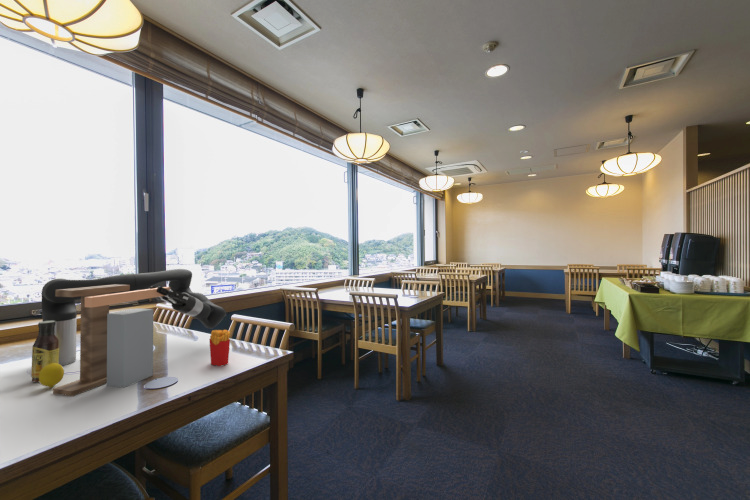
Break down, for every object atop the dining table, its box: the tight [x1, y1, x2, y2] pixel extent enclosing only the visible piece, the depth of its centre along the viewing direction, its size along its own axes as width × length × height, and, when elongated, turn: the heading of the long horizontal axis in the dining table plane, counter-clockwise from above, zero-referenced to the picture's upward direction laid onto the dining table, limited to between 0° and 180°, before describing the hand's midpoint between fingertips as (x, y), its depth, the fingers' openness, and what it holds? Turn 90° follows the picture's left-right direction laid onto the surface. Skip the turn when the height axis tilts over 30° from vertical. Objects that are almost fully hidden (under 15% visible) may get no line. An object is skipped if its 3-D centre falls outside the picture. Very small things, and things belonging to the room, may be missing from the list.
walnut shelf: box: [52, 284, 130, 397], centre depth 99 cm, size 8×17×32 cm, turn 167°
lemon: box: [38, 362, 65, 388], centre depth 96 cm, size 6×6×8 cm
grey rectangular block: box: [106, 307, 154, 388], centre depth 102 cm, size 7×10×24 cm
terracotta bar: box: [85, 286, 170, 308], centre depth 102 cm, size 3×26×3 cm, turn 167°
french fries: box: [209, 329, 231, 367], centre depth 117 cm, size 9×4×13 cm, turn 68°
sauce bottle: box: [30, 320, 59, 383], centre depth 102 cm, size 7×6×20 cm
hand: (154, 288), depth 110 cm, fingers closed on terracotta bar, 3 cm apart
